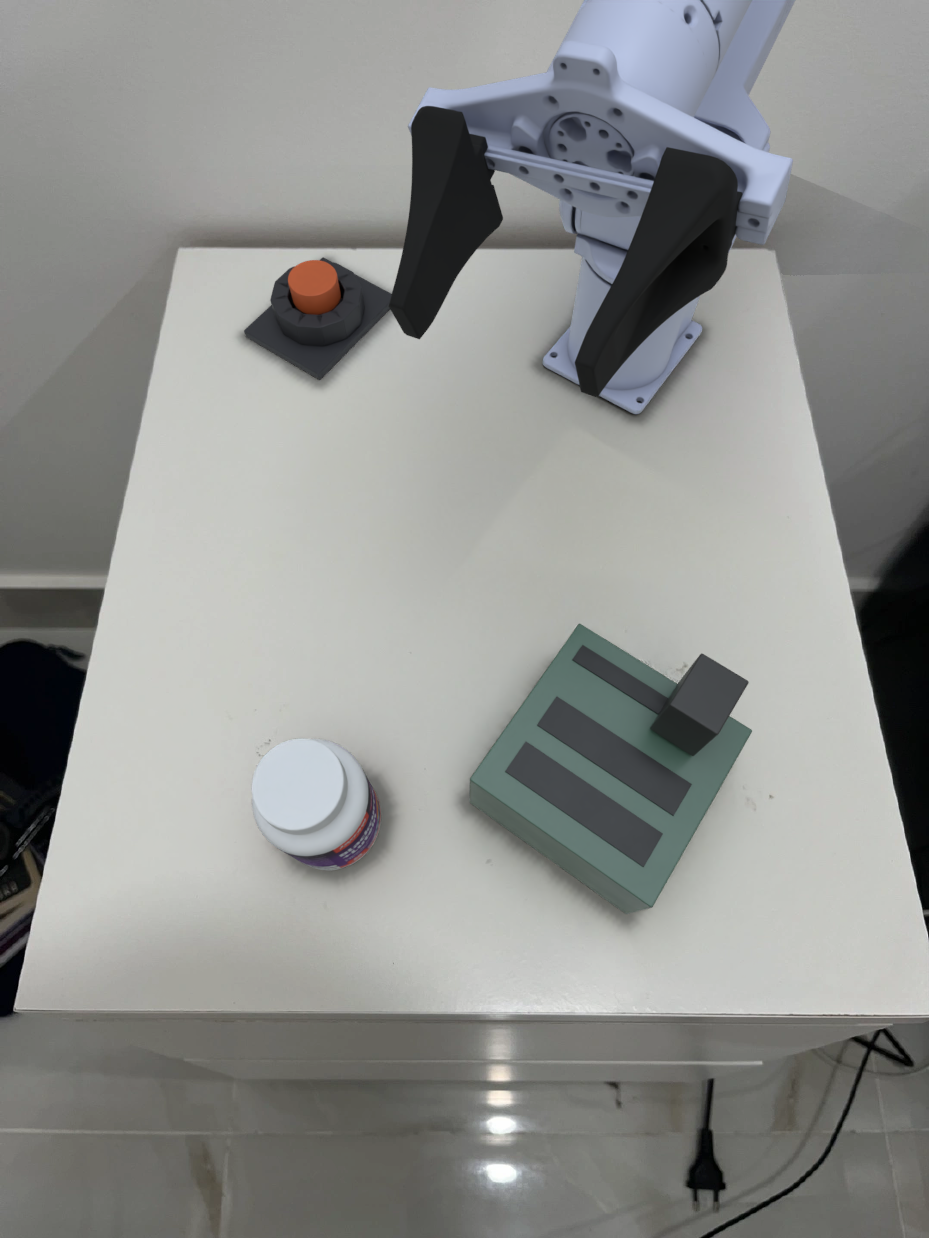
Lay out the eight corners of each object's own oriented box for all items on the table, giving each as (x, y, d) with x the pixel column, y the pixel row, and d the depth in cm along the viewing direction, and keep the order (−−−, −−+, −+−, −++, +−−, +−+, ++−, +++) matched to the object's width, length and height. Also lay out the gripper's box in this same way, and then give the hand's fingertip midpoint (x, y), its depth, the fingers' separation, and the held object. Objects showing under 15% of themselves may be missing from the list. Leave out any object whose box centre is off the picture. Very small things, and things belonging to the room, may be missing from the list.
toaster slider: (679, 681, 38) (701, 652, 34) (722, 707, 37) (749, 681, 34) (649, 729, 37) (669, 704, 33) (693, 757, 36) (718, 735, 33)
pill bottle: (369, 880, 40) (340, 860, 31) (271, 859, 41) (216, 833, 32) (393, 780, 42) (373, 734, 33) (300, 761, 43) (256, 711, 34)
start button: (313, 273, 55) (309, 252, 53) (350, 293, 54) (347, 273, 53) (283, 301, 54) (277, 282, 52) (320, 322, 53) (315, 303, 51)
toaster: (565, 662, 45) (579, 621, 39) (716, 758, 43) (754, 729, 37) (468, 802, 42) (469, 778, 36) (626, 914, 39) (652, 908, 34)
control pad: (324, 264, 58) (318, 236, 56) (397, 303, 57) (394, 276, 54) (245, 337, 55) (236, 311, 53) (319, 381, 54) (313, 355, 51)
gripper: (457, -87, 28) (284, 229, 26) (868, -44, 23) (680, 343, 22) (498, 84, 34) (361, 342, 33) (823, 145, 30) (678, 449, 28)
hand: (491, 350), depth 28 cm, fingers open, 7 cm apart
